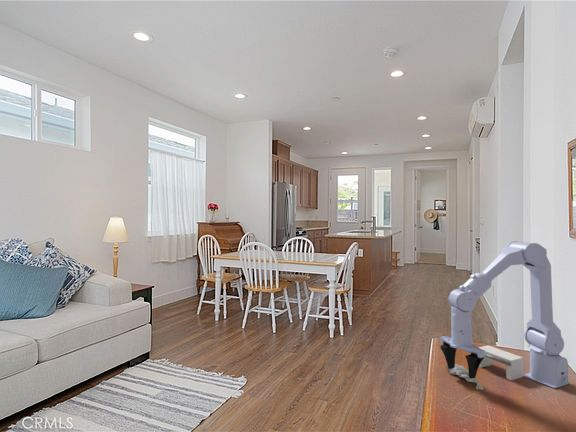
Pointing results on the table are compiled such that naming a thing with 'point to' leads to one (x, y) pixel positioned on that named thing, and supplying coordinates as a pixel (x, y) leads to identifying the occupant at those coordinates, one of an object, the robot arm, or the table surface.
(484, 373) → the table surface
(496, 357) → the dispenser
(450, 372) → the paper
